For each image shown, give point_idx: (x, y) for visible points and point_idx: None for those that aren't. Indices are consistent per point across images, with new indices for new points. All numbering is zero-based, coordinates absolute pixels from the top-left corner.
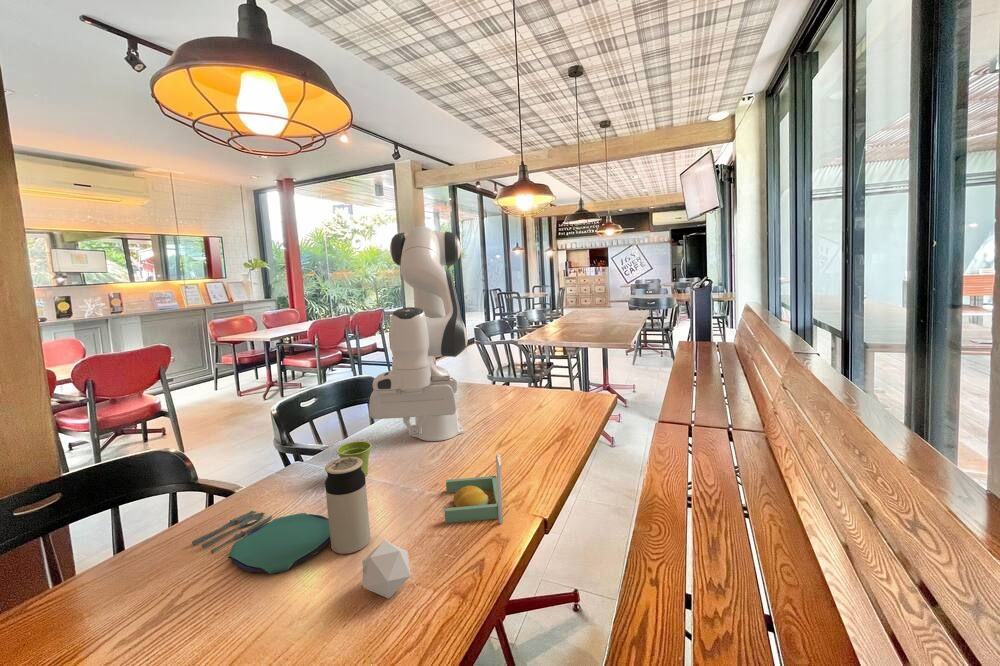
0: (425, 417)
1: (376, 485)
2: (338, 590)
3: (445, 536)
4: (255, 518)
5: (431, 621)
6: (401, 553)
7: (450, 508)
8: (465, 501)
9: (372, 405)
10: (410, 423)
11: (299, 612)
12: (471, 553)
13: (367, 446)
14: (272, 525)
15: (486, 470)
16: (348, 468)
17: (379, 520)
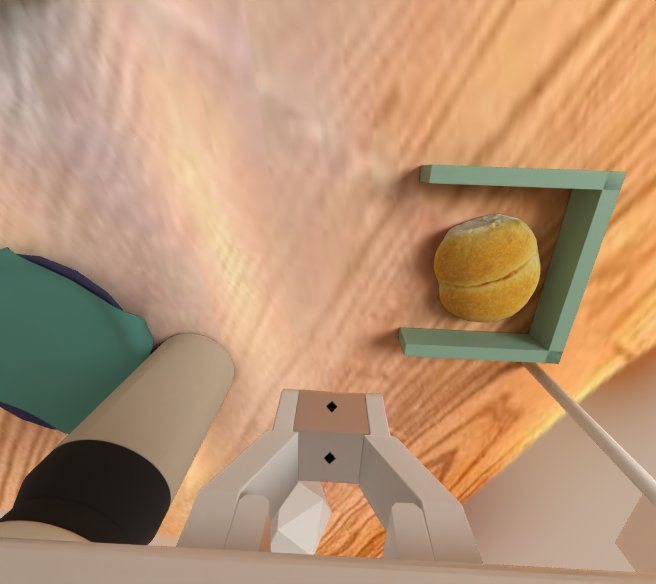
0: (461, 517)
1: (164, 58)
2: (219, 468)
3: (394, 381)
4: None
5: (360, 531)
6: (315, 547)
7: (421, 347)
8: (468, 315)
9: None
10: (282, 454)
11: (180, 492)
12: (437, 435)
13: None
14: None
15: (614, 6)
16: None
17: (235, 293)
